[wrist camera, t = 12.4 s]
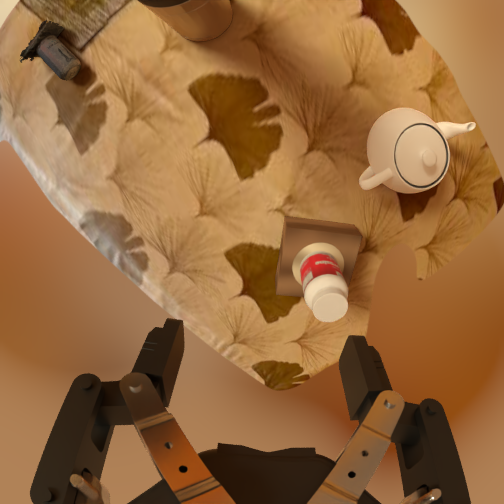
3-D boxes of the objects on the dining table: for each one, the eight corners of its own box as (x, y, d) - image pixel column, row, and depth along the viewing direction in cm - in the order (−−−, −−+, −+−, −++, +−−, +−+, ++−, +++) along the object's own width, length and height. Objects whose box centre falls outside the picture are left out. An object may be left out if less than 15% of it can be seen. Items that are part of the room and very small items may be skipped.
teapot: (367, 211, 48) (390, 236, 38) (328, 141, 43) (346, 149, 34) (460, 153, 42) (497, 166, 32) (430, 84, 37) (467, 82, 27)
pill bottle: (344, 259, 46) (363, 299, 36) (324, 288, 49) (336, 332, 39) (311, 242, 45) (323, 281, 35) (291, 274, 48) (298, 317, 38)
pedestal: (284, 216, 49) (286, 227, 44) (353, 224, 49) (362, 236, 44) (275, 278, 54) (276, 295, 50) (338, 284, 54) (344, 300, 50)
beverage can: (43, 55, 37) (75, 86, 41) (16, 60, 31) (47, 94, 35) (66, 17, 32) (100, 47, 37) (38, 18, 26) (73, 49, 30)
